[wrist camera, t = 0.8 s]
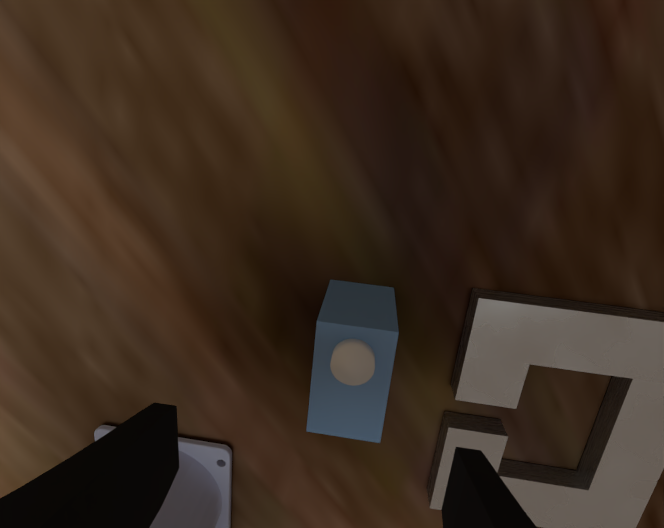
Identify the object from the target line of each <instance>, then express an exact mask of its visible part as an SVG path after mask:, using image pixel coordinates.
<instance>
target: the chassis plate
mask: <svg viewBox="0 0 664 528" xmlns="http://www.w3.org/2000/svg"><path fill="white" fill-rule="evenodd" d="M529 364H532V365H539V366H546V367H553V368H560V369H567V370H574V371H581V372H588V373H596V374H603V375H610V376H612V379H611V381H610V384H609V387H608V389H607V392H606V395H605V397H604V400H603V403H602V405H601V408H600V411H599V413H598V416H597V418H596V421H595V424H594V426H593V429H592V432H591V434H590V437H589V440H588V442H587V445H586V448H585V450H584V453H583V456H582V458H581V461H580V463H579V466H578V469H577V471H575V470H569V469H563V468H557V467H550V466H544V465H538V464H531V463H525V462H519V461H512V460H506V459H502V455H503V452H504V448H505V445H506V442H507V438H508V435H507V433H506V431H505V429H504V426H503V424H502V422H501V419H494V418H487V417H481V416H474V415H468V414H461V413H454V412H448V411H444V416H443V420H442V425H441V429H440V433H439V438H438V442H437V447H436V451H435V455H434V460H433V464H432V469H431V473H430V478H429V482H428V486H427V493H428V500H429V507H430V508H432V509H438V510H442V505H443V501H444V496H445V492H446V487H447V483H448V479H449V474H450V470H451V465H452V461H453V457H454V452H455V448H456V447H462V448H469V449H475V450H481V451H482V452H483V454H484V455H485V456H486V458H487V459H488V461H489V462H490V463H491V465H492V466H493V468H494V469H495V471H496V472H497V473H498V475H499V476H500V478H501V479H502V480H503V482H504V483H505V485H506V486H507V488H508V489H509V490H510V492H511V493H512V494H513V496H514V497H515V499H516V500H517V501H518V503H519V504H520V506H521V507H522V508H523V510H524V511H525V512H526V514H527V515H528V516H529V518H530V519H531V520H532V522H533V523H534V524H535V526H538V527H544V528H636V526H637V524H638V522H639V520H640V518H641V516H642V513H643V511H644V509H645V507H646V505H647V503H648V501H649V498H650V496H651V494H652V492H653V490H654V488H655V486H656V483H657V481H658V479H659V477H660V475H661V473H662V471H663V468H664V312H656V311H649V310H641V309H633V308H625V307H617V306H610V305H602V304H594V303H586V302H578V301H571V300H563V299H555V298H547V297H540V296H532V295H524V294H516V293H508V292H501V291H493V290H485V289H477V288H472V292H471V297H470V301H469V306H468V310H467V314H466V319H465V323H464V328H463V332H462V336H461V341H460V345H459V350H458V354H457V358H456V363H455V367H454V372H453V376H452V381H451V388H452V391H453V394H454V398H455V400H460V401H467V402H474V403H480V404H487V405H494V406H500V407H507V408H514V409H516V408H517V405H518V401H519V398H520V394H521V391H522V388H523V384H524V381H525V377H526V374H527V371H528V367H529Z"/></svg>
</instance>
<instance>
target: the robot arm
mask: <svg viewBox="0 0 664 528" xmlns="http://www.w3.org/2000/svg"><path fill="white" fill-rule="evenodd" d="M94 438H95V442H93V443H92V444H90V445H89V446H87V447H86V448H84V449H83V450H81V451H80V452H78V453H76V454H75V455H73V456H72V457H70V458H68V459H67V460H65V461H63V462H62V463H60V464H59V465H57V466H55V467H54V468H52V469H50V470H49V471H47V472H45V473H44V474H42V475H40V476H39V477H37V478H35V479H34V480H32V481H30V482H29V483H27V484H25V485H24V486H22V487H20V488H18V489H17V490H15V491H13V492H11V493H10V494H8V495H6V496H4V497H2V498H0V528H231V483H232V450H231V449H230V447H228V446H227V445H224V444H218V443H212V442H206V441H200V440H193V439H187V438H181V437H178V428H177V407H176V406H173V405H167V404H160V403H153V404H151V405H150V406H148V407H147V408H145V409H143V410H142V411H140V412H139V413H137V414H136V415H134V416H133V417H131V418H130V419H128V420H127V421H125V422H124V423H122V424H121V425H119V426H118V427H114V426H108V425H101V426H99V427H98V428H97V429H96V430H95V432H94ZM221 460H224V461H225V462H224V461H221ZM442 519H443V528H537V527H536V526H535V524H534V523H533V522H532V520H531V519H530V518H529V516H528V515H527V514H526V512H525V511H524V510H523V508H522V507H521V506H520V504H519V503H518V501H517V500H516V499H515V497H514V496H513V494H512V493H511V492H510V490H509V489H508V488H507V486H506V485H505V483H504V482H503V480H502V479H501V478H500V476H499V475H498V473H497V472H496V471H495V469H494V468H493V466H492V465H491V463H490V462H489V461H488V459H487V458H486V456H485V455H484V454H483V452H482V451H481V450H475V449H469V448H462V447H456V448H455V452H454V457H453V461H452V465H451V470H450V474H449V479H448V483H447V487H446V492H445V496H444V501H443V505H442Z"/></svg>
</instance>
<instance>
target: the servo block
mask: <svg viewBox="0 0 664 528" xmlns="http://www.w3.org/2000/svg"><path fill="white" fill-rule="evenodd" d="M398 334H399V330H398V321H397V311H396V302H395V293H394V288H393V287H385V286H377V285H370V284H362V283H354V282H347V281H339V280H331V279H330V282H329V285H328V288H327V291H326V295H325V298H324V301H323V304H322V307H321V310H320V313H319V316H318V319H317V324H316V335H315V345H314V356H313V367H312V377H311V388H310V399H309V409H308V420H307V432H313V433H320V434H326V435H332V436H339V437H345V438H351V439H357V440H364V441H370V442H376V443H380V441H381V435H382V429H383V423H384V417H385V411H386V405H387V399H388V393H389V387H390V381H391V375H392V370H393V364H394V358H395V352H396V346H397V340H398Z"/></svg>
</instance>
